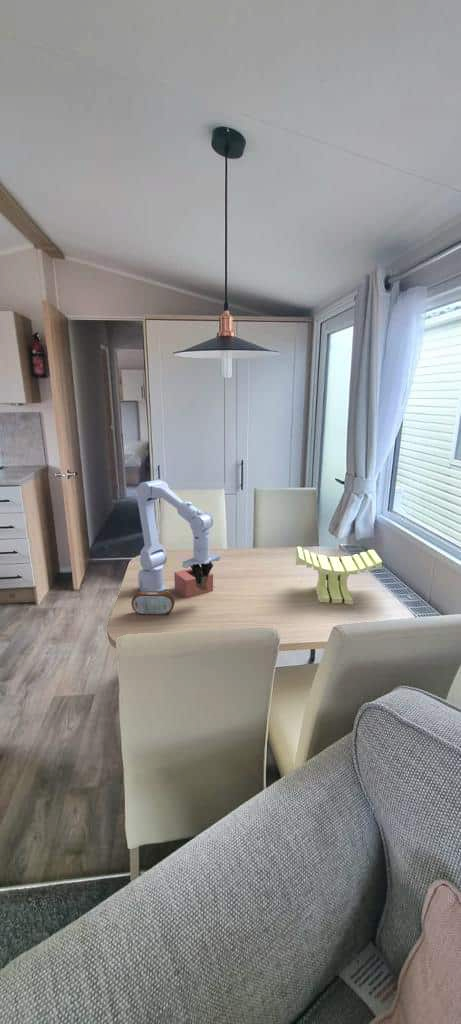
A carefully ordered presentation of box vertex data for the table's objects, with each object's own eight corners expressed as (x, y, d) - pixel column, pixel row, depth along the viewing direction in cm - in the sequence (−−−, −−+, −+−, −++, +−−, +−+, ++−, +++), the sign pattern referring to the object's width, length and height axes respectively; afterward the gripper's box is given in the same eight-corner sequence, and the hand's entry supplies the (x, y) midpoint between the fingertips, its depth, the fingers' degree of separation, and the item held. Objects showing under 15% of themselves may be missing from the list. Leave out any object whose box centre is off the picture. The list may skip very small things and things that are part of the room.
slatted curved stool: (367, 588, 179) (371, 547, 174) (377, 605, 163) (382, 561, 159) (294, 584, 181) (296, 543, 176) (297, 601, 165) (299, 557, 161)
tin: (174, 611, 156) (174, 590, 154) (174, 615, 153) (173, 593, 151) (132, 611, 155) (131, 589, 153) (131, 615, 152) (130, 593, 150)
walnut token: (202, 590, 157) (202, 577, 156) (195, 585, 161) (195, 573, 160) (207, 589, 158) (207, 576, 157) (200, 584, 162) (200, 572, 161)
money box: (186, 597, 167) (186, 580, 165) (174, 588, 175) (174, 572, 173) (213, 590, 173) (213, 574, 172) (200, 582, 181) (200, 566, 180)
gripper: (189, 554, 149) (189, 590, 152) (224, 546, 157) (223, 581, 160) (179, 548, 154) (179, 583, 158) (214, 541, 162) (213, 575, 166)
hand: (201, 582), depth 159 cm, fingers closed on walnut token, 2 cm apart
